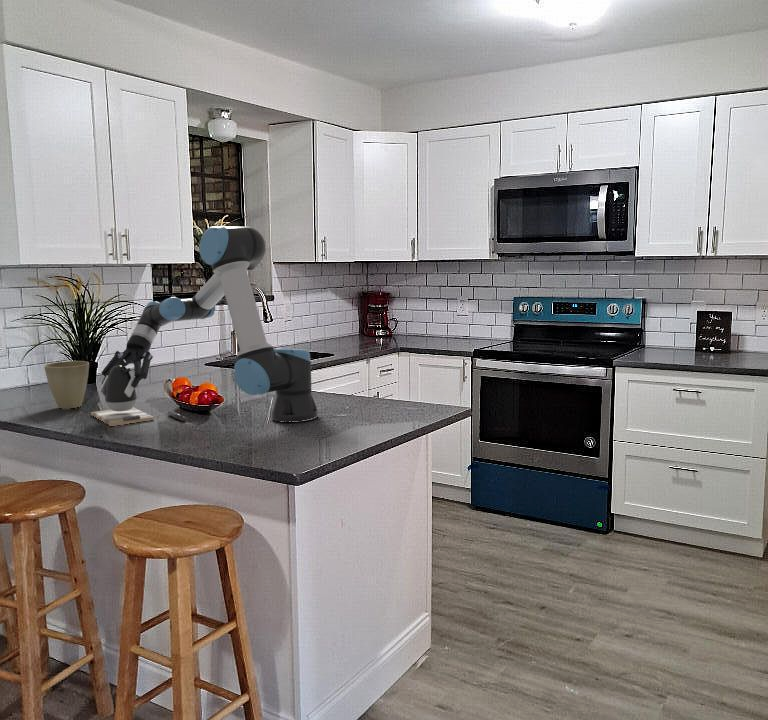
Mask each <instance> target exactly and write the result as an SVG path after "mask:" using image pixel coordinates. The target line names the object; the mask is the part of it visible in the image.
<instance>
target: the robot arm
mask: <svg viewBox="0 0 768 720" xmlns="http://www.w3.org/2000/svg"><path fill="white" fill-rule="evenodd" d="M198 247H199V248H198V249H199V255H200V258H201V260H202V261H203V262H204V263H205V264H207V265H209V266H211V267H212V272H213V274H212V276H211V277H210V278H209V279H208V281H207V280H206V282H205V284H203V286H202V287H201V288H200V289H199V290H198V291H197V292H196V294H194V295H193V297H191V298H178V297H176V296H171V297H169V298H165V299H164V300H163V301H160V302H159V301H149V302H148V303H147V305H146V306H145V307H144V308H143V310H142V311H143V312H142V313H141V314H140V316H139V319H138V321H137V323H136V326H135V327H134V329H133V330H132V332H131V334H130V337H129V339H128V340H127V342H126V348H125V349H124V351H119V350H117V351H115V352H114V355H113V357H112V358H111V359H110V360H109V361H108V363H107V365H106V366H105V367H104V368H103V369H102V371H101V372H100V373H101V374H102V375H103V377H104V378H103V380H102V382H101V386H100V388H99V390H98V393H100V394H101V396H103V397H105V388H106V383H107V378H108V375H109V373H110V371H111V369H112V368H113V367H114V366H116V365H122V366H124V367H127V366H128V365H130V364H131V365H132V364H133V369H134V370H133V371H134V373H133V376H132V375H131V379H130V381H129V383H128V385H127V387H126V389H125V392H124V393H125V394H126V395H127V396H128V397H130V396H131V394H132V392H133V390H134V388H137V387H138V385H139V383H140V381H141V380H147V378H148V374H149V369H150V364H151V362H152V359H153V358H154V356H153V355H152V353H151V352H150V349H151V346H152V344H153V342H154V340H155V339H156V336H157V335H158V332H159V331H160V329H161V327H162V326H166V325H167V324H170V323H173V322H181V321H182V322H183V321H193V320H205V319H208V318H211V317H213V316H214V314H215V311H216V305H217V304H218V303H219V302H220V301H221V299H223V298H224V297H225V301H226V305H227V308H228V313H229V315H230V319H231V322H232V327H233V329H234V333H235V337H236V340H237V343H238V348H239V351H238V353H237V354H236V358H237V359H236V360H237V361H236V362H235V363H234V366H233V371H232V373H233V378H234V381H235V383H236V386H237V387H238V389H240V391H241V392H243V393H245V394H246V395H250V396H257V395H259V396H260V395H261V396H262V395H264V394H267V393H271V392H275V398H274V402H273V406H272V409H271V412H270V413H271V414H270V415H271V417H270V418H271V420H272V419H273V420H275V421H274V422H276V421H284V422H285V421H286V422H289V421H291V422H292V421H302V420H307V419H311V418H314V417H316V416H317V415H319V413H318V412H319V411H318V408H317V405H316V402H315V399H314V397H313V394H312V393H313V392H312V360H311V353H310V351H308V350H307V349H302V348H301V349H299V348H288V347H276V348H274V346H273V345H272V344H270V343H268V341H267V338H266V334H265V331H264V327H263V324H262V320H261V317H260V313H259V309H258V306H257V303H256V300H255V299H256V298H255V295H254V292H253V288H252V284H251V280H250V277H249V275H248V272H249V271H253V270H254V269H255V268H256V267H257V266H259V264H260V263H262V260H263V259H264V257H265V255H266V251H267V250H266V249H267V248H266V247H267V244H266V241H265V237H263V235H262V234H261V232H260V231H259V230H257V229H256V228H253V227H250V226H231V225H230V226H229V225H228V226H225V225H219V226H218V225H217V226H210V227H209V228H207V229H206V230H205V231H204V232H203V234H202V235H201V239H200V241H199V246H198ZM273 420H272V421H273Z"/></svg>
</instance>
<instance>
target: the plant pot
mask: <svg viewBox="0 0 768 720" xmlns="http://www.w3.org/2000/svg"><path fill="white" fill-rule="evenodd" d="M43 367H44V368H43V369H44V371H45V376H46V379H47V383H48V386H49V389H50V391H51V395H52V397H53V398H54V401H55V403H56V406H58V409H59V408H62V409H61V410H71V409H70V408H75V409H78V408H77V407H79V408H80V406H81V407H82V404H83V401H84V397H85V394H86V390H87V386H88V378H89V369H90V363H89V361H85V360H69V361H67V360H66V361H56V362H51V363H47V364H44V365H43Z"/></svg>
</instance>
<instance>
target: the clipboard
mask: <svg viewBox="0 0 768 720" xmlns="http://www.w3.org/2000/svg"><path fill="white" fill-rule="evenodd" d="M90 414H91V415H92V416H91V417H93V416H94V417H93V418H95V417H96V418H97V419H96V418H95V419H96V420H98V419H99V420H98V421H100V420H101V421H103V422H104V423H103V422H102V423H103V424H105V423H106V424H108V425H110V426H115V427H117V426H116V425H121V426H124V425H123V424H128V425H130V424H129V423H135V422H141V421H148V420H154V421H155V416H153V415H151V414H149V413H146V411H145V412H144V411H142V410H140V409H138V408H137V407H135V406H134V407H133V408H131V409H130V410H127V411H113V410H111V409H106V410H99V411H98V410H97V411H92V412H90ZM101 421H100V422H101ZM148 422H149V421H148ZM141 423H142V422H141ZM106 424H105V425H106ZM135 424H136V423H135ZM108 425H107V426H108ZM110 426H109V427H110Z"/></svg>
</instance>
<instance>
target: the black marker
mask: <svg viewBox="0 0 768 720" xmlns="http://www.w3.org/2000/svg"><path fill="white" fill-rule="evenodd" d="M167 415H168V416H169V417H172V418H174V419H177V420H178V421H181V422H183V421H184V422H186V421H187V417H186V416H184V415H182V414H179V413H177V412H174V411H172V410H169V411H168V412H167Z"/></svg>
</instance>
